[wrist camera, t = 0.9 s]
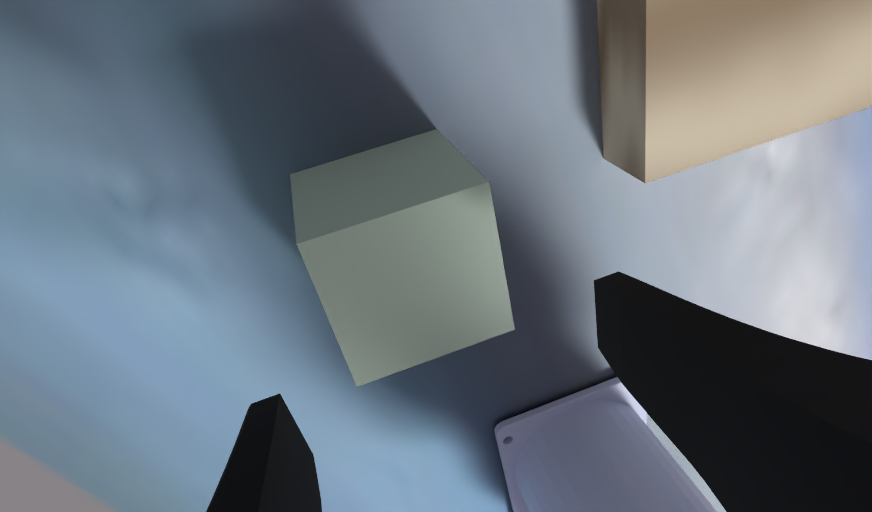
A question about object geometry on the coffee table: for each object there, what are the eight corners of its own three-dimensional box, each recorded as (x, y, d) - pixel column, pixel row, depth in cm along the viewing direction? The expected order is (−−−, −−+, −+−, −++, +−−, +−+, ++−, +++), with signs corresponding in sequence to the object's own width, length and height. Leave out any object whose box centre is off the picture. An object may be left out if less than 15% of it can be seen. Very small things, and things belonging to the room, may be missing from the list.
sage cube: (463, 252, 20) (515, 329, 16) (338, 294, 19) (356, 386, 15) (436, 128, 17) (489, 181, 13) (289, 173, 17) (296, 244, 13)
